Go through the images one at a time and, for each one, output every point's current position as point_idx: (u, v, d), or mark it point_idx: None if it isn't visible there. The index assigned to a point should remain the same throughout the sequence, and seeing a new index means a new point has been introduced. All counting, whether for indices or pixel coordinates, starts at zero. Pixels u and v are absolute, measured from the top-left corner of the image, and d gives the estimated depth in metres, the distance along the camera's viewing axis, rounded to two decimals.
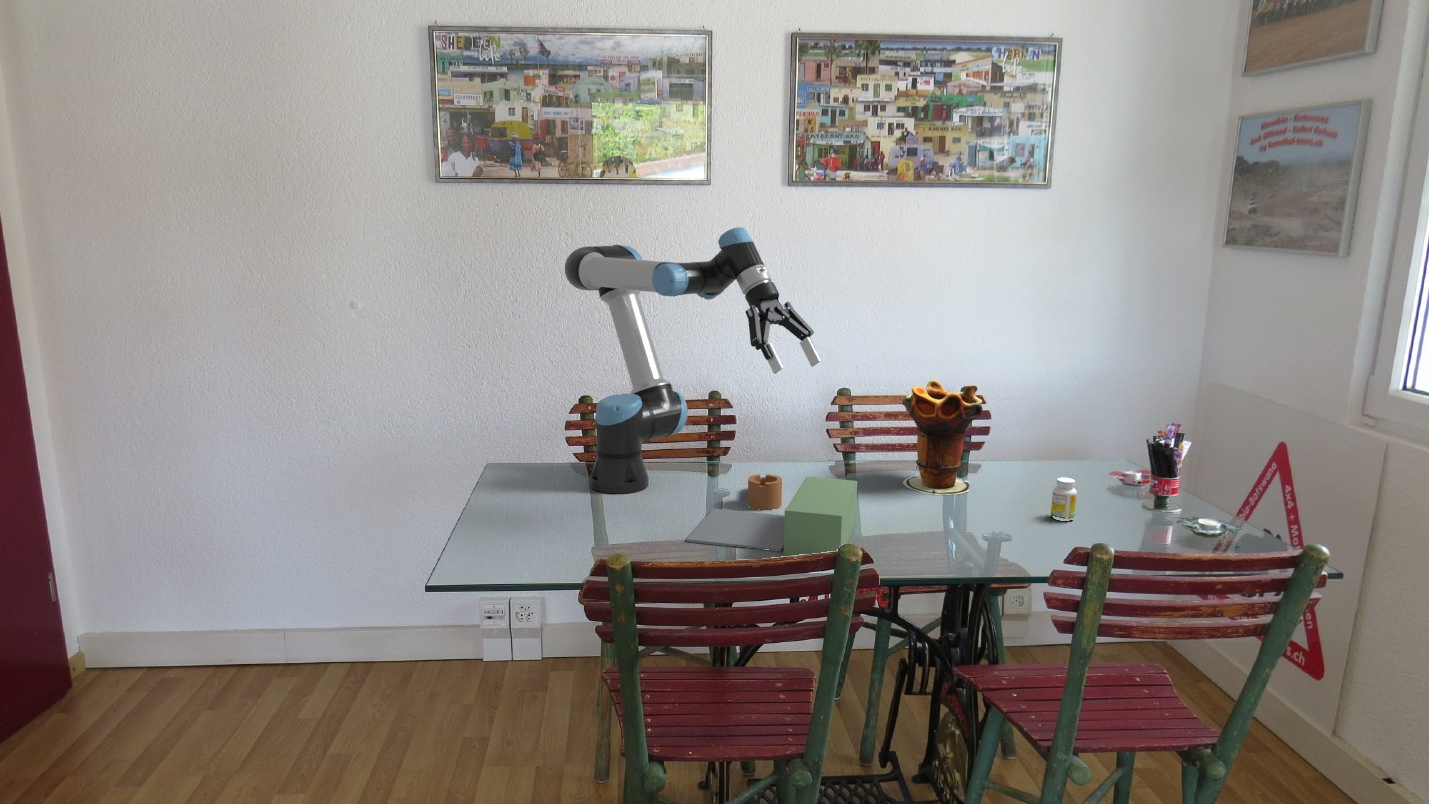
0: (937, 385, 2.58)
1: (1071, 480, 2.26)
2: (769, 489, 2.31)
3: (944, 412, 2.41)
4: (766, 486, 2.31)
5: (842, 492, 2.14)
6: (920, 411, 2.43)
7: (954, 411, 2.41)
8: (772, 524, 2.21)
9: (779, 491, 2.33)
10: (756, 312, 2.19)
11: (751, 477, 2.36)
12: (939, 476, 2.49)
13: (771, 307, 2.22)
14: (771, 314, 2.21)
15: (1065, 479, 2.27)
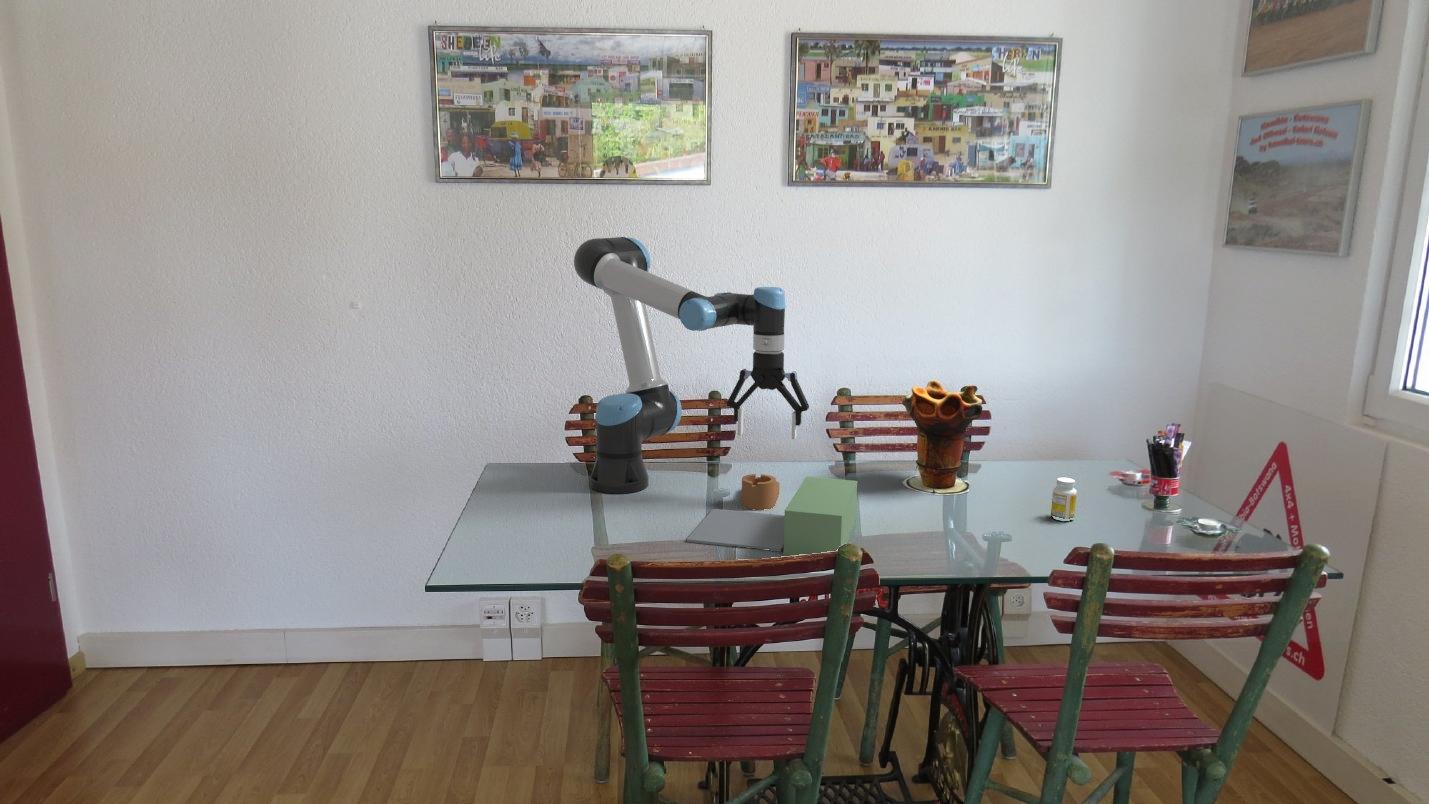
0: (937, 385, 2.58)
1: (1071, 480, 2.26)
2: (761, 489, 2.31)
3: (944, 412, 2.41)
4: (758, 486, 2.31)
5: (842, 492, 2.14)
6: (920, 411, 2.43)
7: (954, 411, 2.41)
8: (772, 524, 2.21)
9: (772, 491, 2.33)
10: (742, 378, 2.35)
11: (745, 476, 2.36)
12: (939, 476, 2.49)
13: (760, 377, 2.33)
14: (757, 384, 2.34)
15: (1065, 479, 2.27)
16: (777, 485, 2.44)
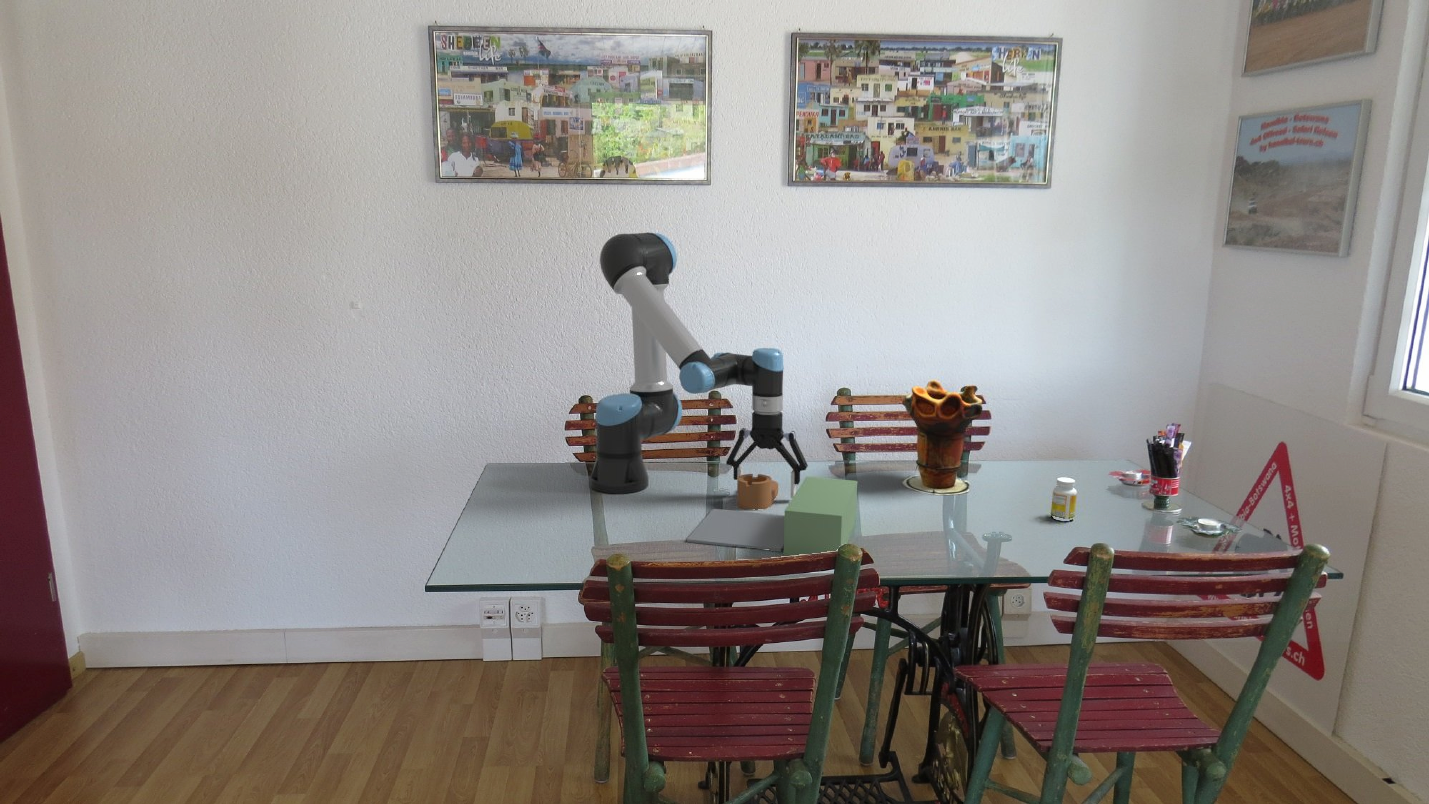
0: (937, 385, 2.58)
1: (1071, 480, 2.26)
2: (755, 489, 2.31)
3: (944, 412, 2.41)
4: (752, 486, 2.31)
5: (842, 492, 2.14)
6: (920, 411, 2.43)
7: (954, 411, 2.41)
8: (772, 524, 2.21)
9: (767, 491, 2.33)
10: (741, 437, 2.38)
11: (742, 476, 2.37)
12: (939, 476, 2.49)
13: (759, 437, 2.36)
14: (756, 443, 2.37)
15: (1065, 479, 2.27)
16: (775, 485, 2.44)
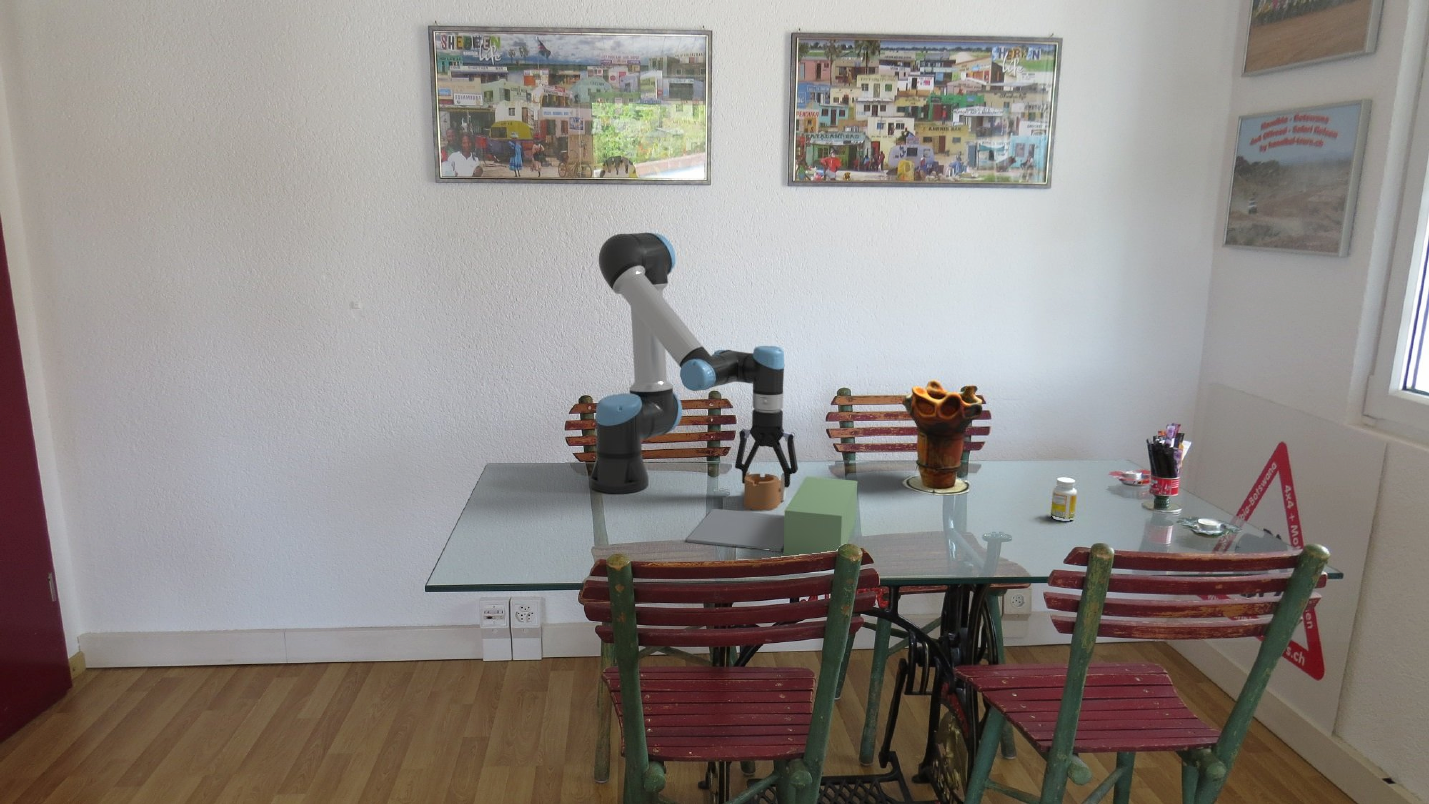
0: (937, 385, 2.58)
1: (1071, 480, 2.26)
2: (762, 488, 2.31)
3: (944, 412, 2.41)
4: (759, 485, 2.31)
5: (842, 492, 2.14)
6: (920, 411, 2.43)
7: (954, 411, 2.41)
8: (772, 524, 2.21)
9: (773, 491, 2.32)
10: (743, 438, 2.38)
11: (749, 476, 2.36)
12: (939, 476, 2.49)
13: (759, 435, 2.36)
14: (758, 442, 2.37)
15: (1065, 479, 2.27)
16: None
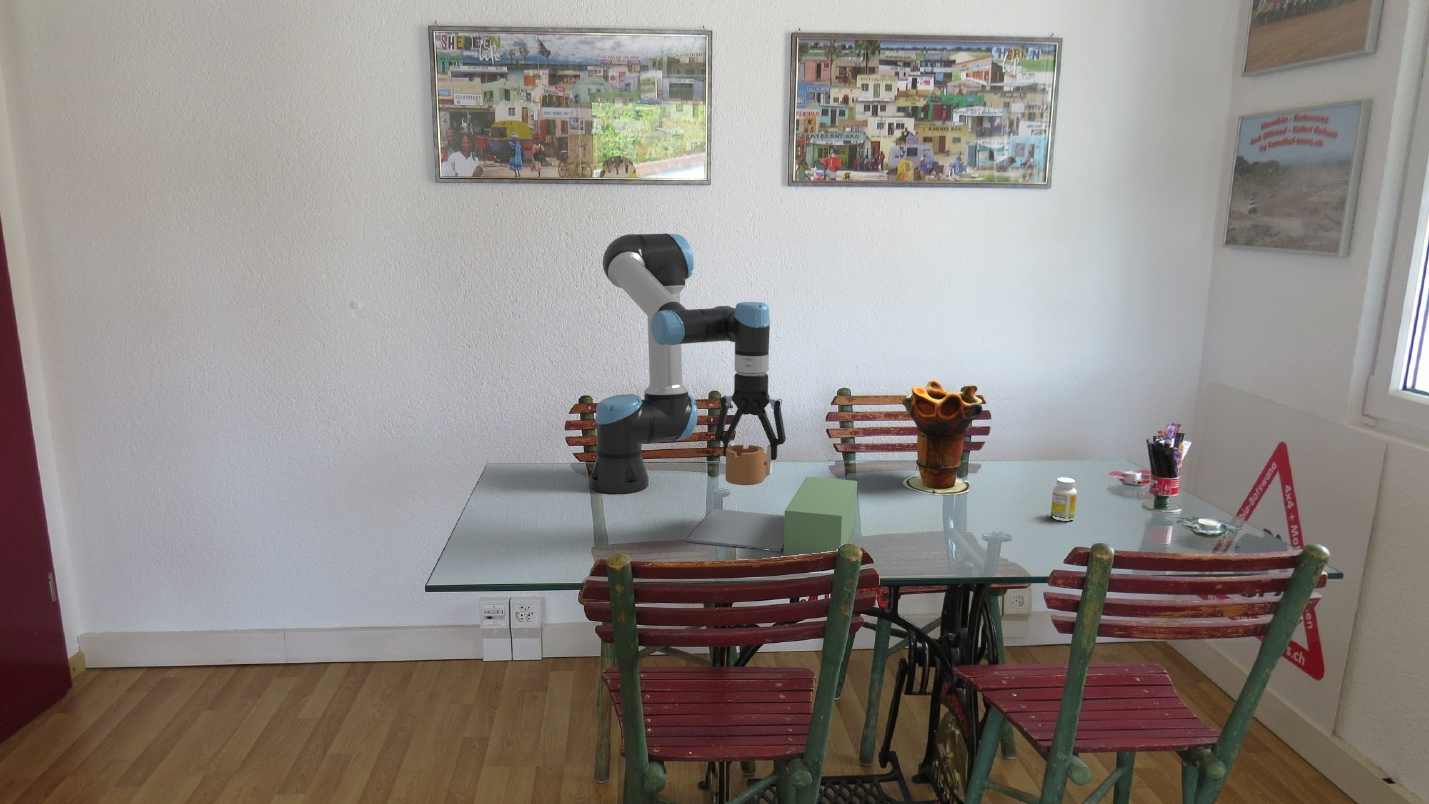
0: (937, 385, 2.58)
1: (1071, 480, 2.26)
2: (745, 460, 2.06)
3: (944, 412, 2.41)
4: (742, 457, 2.06)
5: (842, 492, 2.14)
6: (920, 411, 2.43)
7: (954, 411, 2.41)
8: (772, 524, 2.21)
9: (758, 463, 2.08)
10: (724, 405, 2.14)
11: (731, 447, 2.12)
12: (939, 476, 2.49)
13: (742, 402, 2.12)
14: (741, 409, 2.12)
15: (1065, 479, 2.27)
16: None
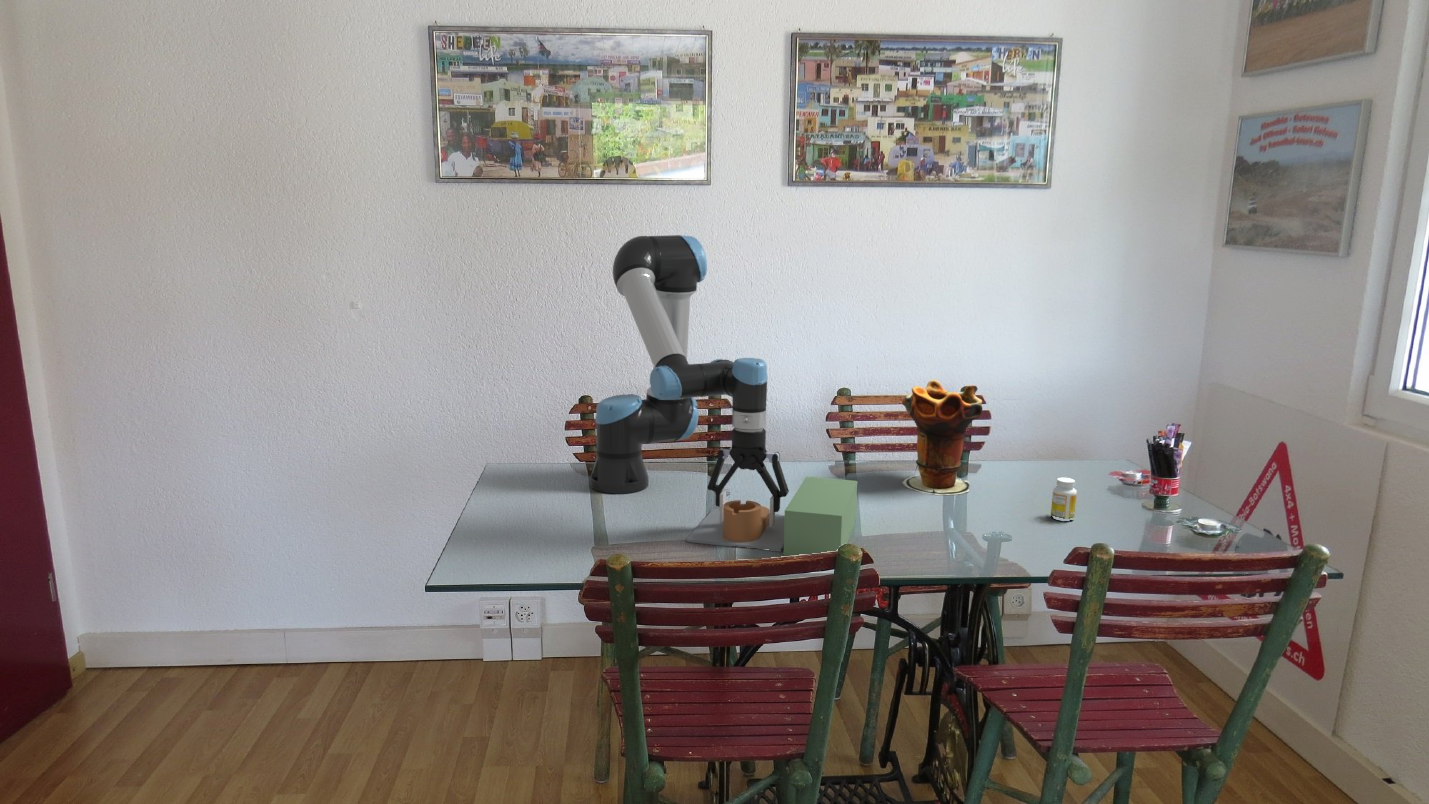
0: (937, 385, 2.58)
1: (1071, 480, 2.26)
2: (742, 518, 2.08)
3: (944, 412, 2.41)
4: (739, 514, 2.08)
5: (842, 492, 2.14)
6: (920, 411, 2.43)
7: (954, 411, 2.41)
8: None
9: (755, 521, 2.09)
10: (720, 458, 2.15)
11: (728, 503, 2.13)
12: (939, 476, 2.49)
13: (740, 457, 2.13)
14: (737, 464, 2.14)
15: (1065, 479, 2.27)
16: (766, 513, 2.20)
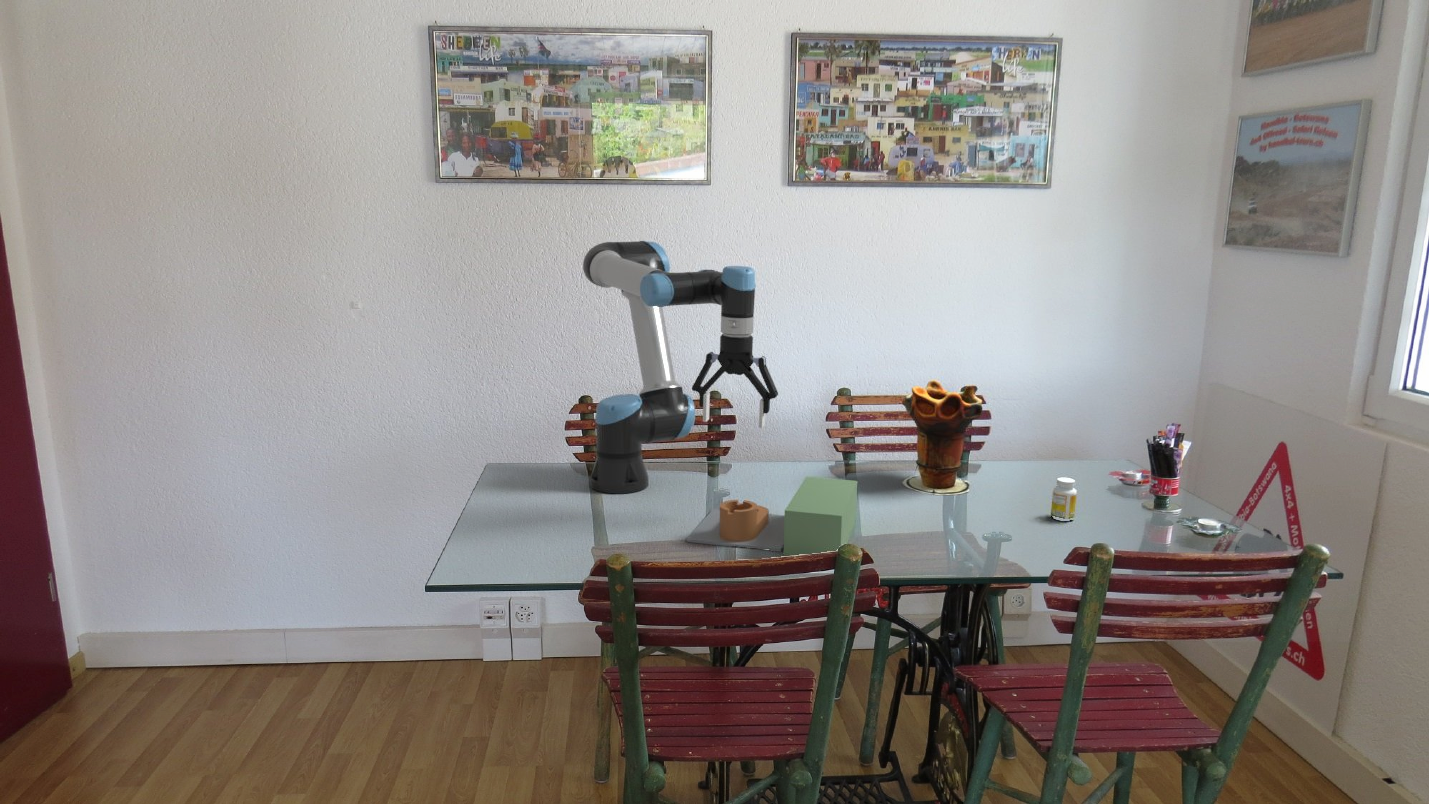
0: (937, 385, 2.58)
1: (1071, 480, 2.26)
2: (737, 517, 2.08)
3: (944, 412, 2.41)
4: (734, 514, 2.08)
5: (842, 492, 2.14)
6: (920, 411, 2.43)
7: (954, 411, 2.41)
8: (772, 524, 2.21)
9: (751, 520, 2.09)
10: (708, 361, 2.23)
11: (725, 502, 2.14)
12: (939, 476, 2.49)
13: (727, 362, 2.21)
14: (724, 368, 2.22)
15: (1065, 479, 2.27)
16: (765, 513, 2.20)
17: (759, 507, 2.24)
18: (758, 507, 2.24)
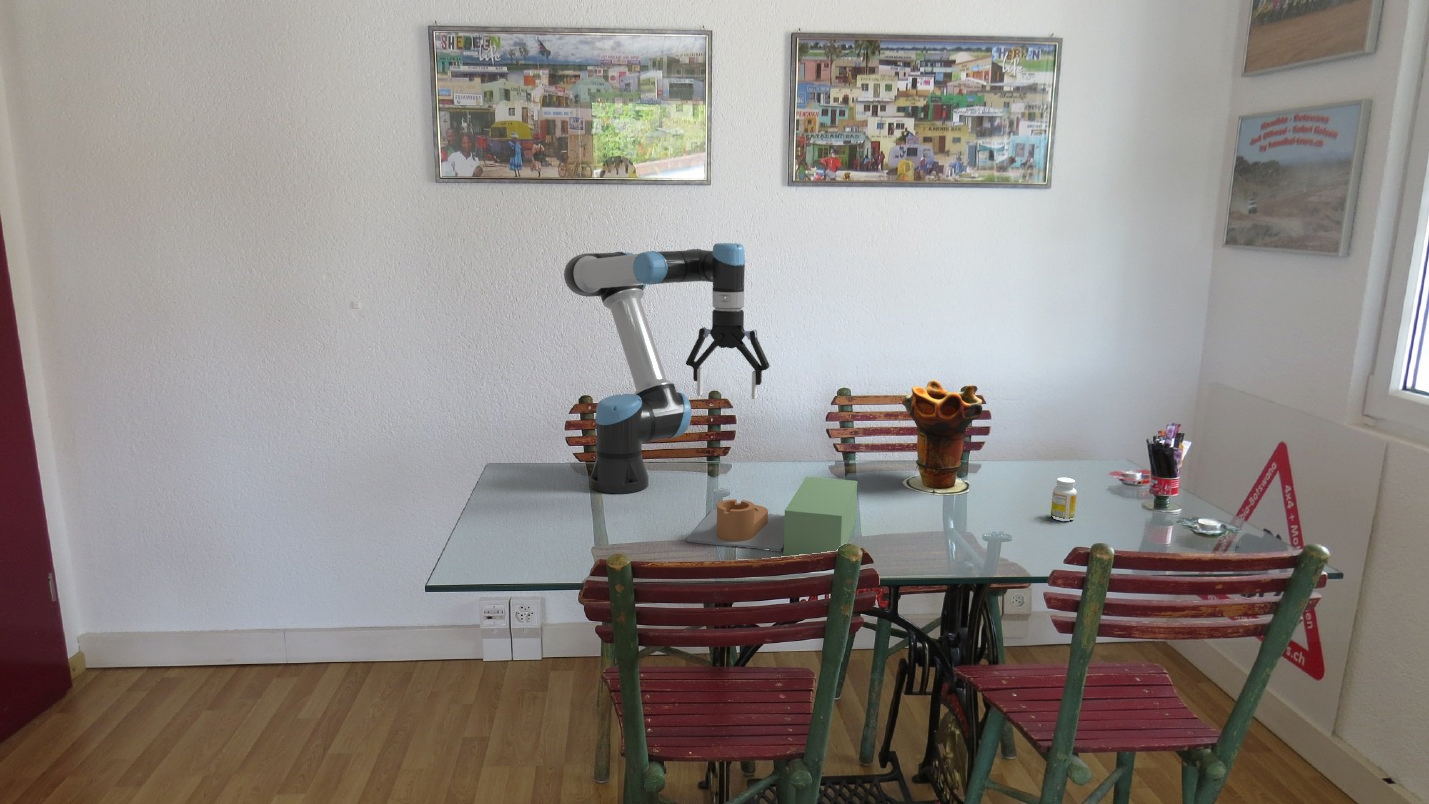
0: (937, 385, 2.58)
1: (1071, 480, 2.26)
2: (734, 517, 2.08)
3: (944, 412, 2.41)
4: (730, 513, 2.08)
5: (842, 492, 2.14)
6: (920, 411, 2.43)
7: (954, 411, 2.41)
8: (772, 524, 2.21)
9: (747, 520, 2.09)
10: (701, 336, 2.31)
11: (723, 502, 2.14)
12: (939, 476, 2.49)
13: (720, 335, 2.28)
14: (717, 342, 2.29)
15: (1065, 479, 2.27)
16: (764, 513, 2.20)
17: (759, 507, 2.24)
18: (758, 507, 2.24)
